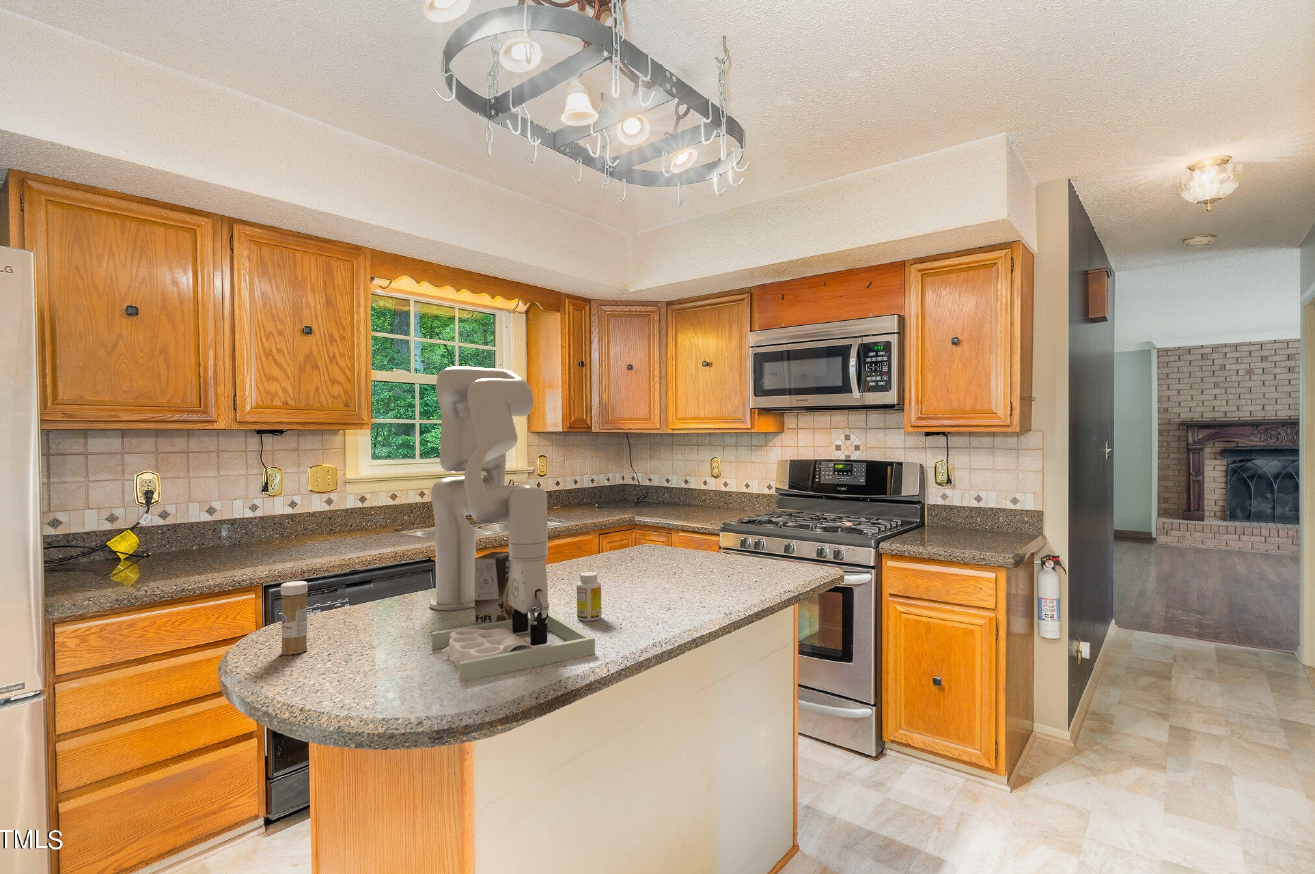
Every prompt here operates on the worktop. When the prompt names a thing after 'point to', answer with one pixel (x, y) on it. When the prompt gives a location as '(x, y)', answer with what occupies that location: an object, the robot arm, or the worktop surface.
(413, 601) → the worktop surface
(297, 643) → the sprinkles bottle
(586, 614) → the supplement bottle
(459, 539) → the robot arm
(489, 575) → the coffee box
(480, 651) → the white brass knuckles
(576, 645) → the green rectangular frame
